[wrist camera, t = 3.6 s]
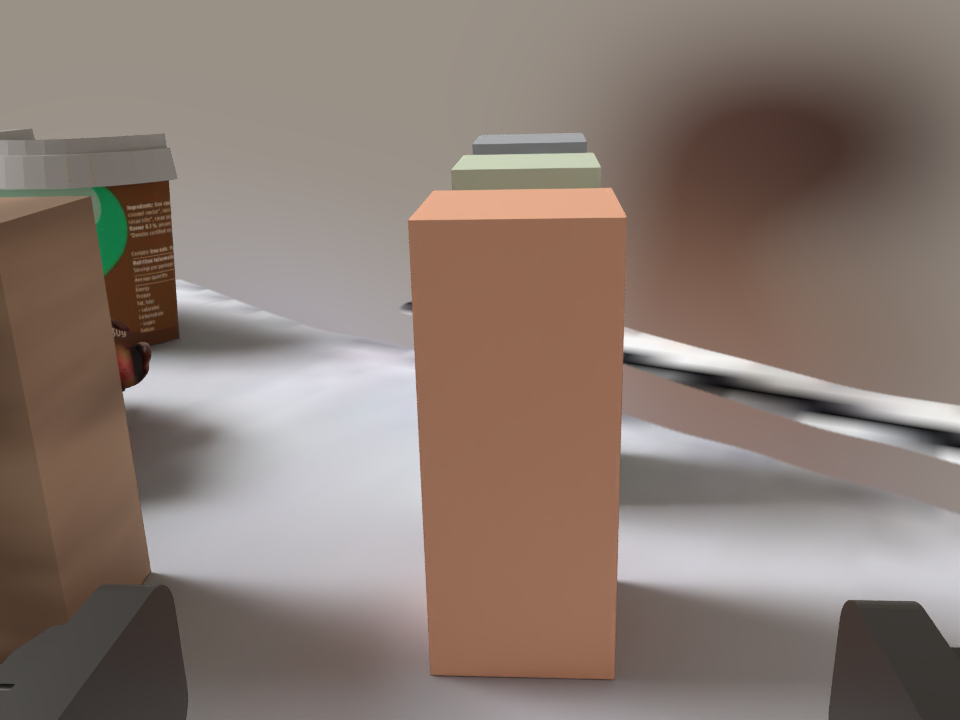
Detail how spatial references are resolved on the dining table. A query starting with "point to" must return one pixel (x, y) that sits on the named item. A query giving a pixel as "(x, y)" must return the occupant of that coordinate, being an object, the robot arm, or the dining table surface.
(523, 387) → the terracotta block
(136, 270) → the food container
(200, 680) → the dining table surface
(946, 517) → the dining table surface
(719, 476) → the dining table surface
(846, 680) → the robot arm
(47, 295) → the walnut block
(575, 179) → the sage block
